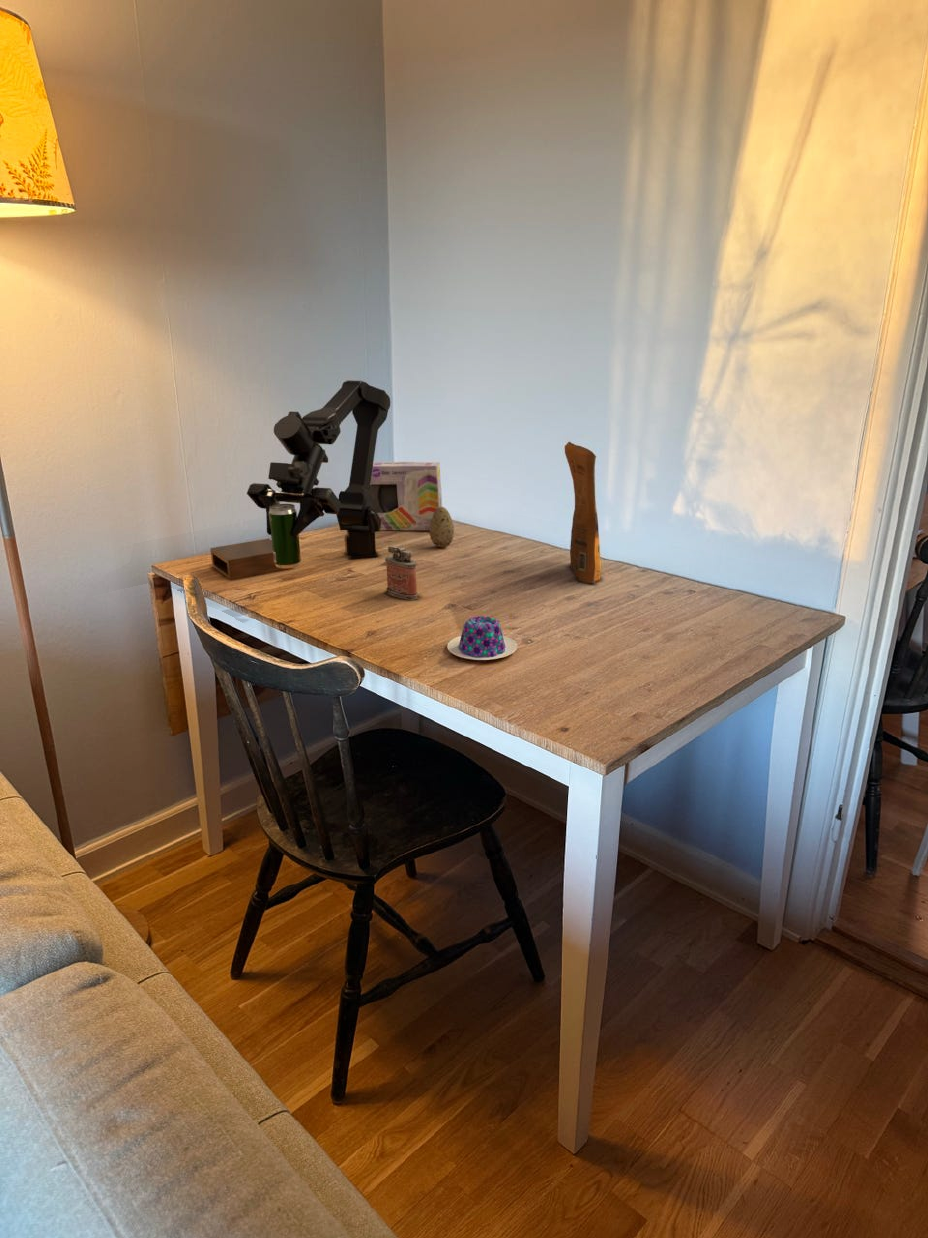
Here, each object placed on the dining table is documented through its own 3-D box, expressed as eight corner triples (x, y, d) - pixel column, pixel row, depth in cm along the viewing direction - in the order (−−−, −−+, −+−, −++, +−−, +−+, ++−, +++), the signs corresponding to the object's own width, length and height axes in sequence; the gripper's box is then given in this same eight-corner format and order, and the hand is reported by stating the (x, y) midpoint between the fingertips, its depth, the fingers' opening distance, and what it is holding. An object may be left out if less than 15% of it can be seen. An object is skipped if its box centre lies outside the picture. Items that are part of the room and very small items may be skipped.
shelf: (270, 556, 196) (268, 538, 195) (290, 568, 187) (288, 549, 185) (212, 567, 189) (210, 548, 187) (230, 580, 180) (228, 560, 178)
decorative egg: (425, 547, 202) (424, 507, 199) (439, 542, 207) (438, 503, 203) (444, 551, 199) (444, 510, 195) (459, 545, 204) (458, 506, 200)
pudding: (464, 668, 134) (463, 639, 132) (436, 643, 144) (436, 615, 143) (529, 656, 139) (530, 627, 137) (498, 632, 149) (498, 605, 147)
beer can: (280, 570, 163) (274, 511, 159) (270, 563, 167) (263, 505, 163) (305, 565, 166) (300, 507, 161) (294, 559, 170) (289, 501, 166)
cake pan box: (369, 530, 219) (365, 463, 213) (374, 525, 223) (370, 460, 217) (440, 532, 216) (438, 465, 210) (443, 528, 220) (442, 461, 214)
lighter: (421, 597, 168) (420, 549, 164) (409, 601, 165) (408, 553, 162) (395, 588, 173) (393, 542, 169) (382, 592, 171) (380, 545, 167)
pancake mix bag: (574, 587, 173) (579, 452, 163) (559, 561, 191) (563, 438, 181) (606, 586, 173) (613, 451, 163) (588, 560, 191) (594, 437, 181)
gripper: (246, 443, 164) (220, 510, 159) (329, 447, 158) (305, 517, 153) (272, 474, 174) (248, 538, 169) (351, 479, 168) (328, 546, 162)
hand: (280, 534), depth 163 cm, fingers closed on beer can, 5 cm apart
